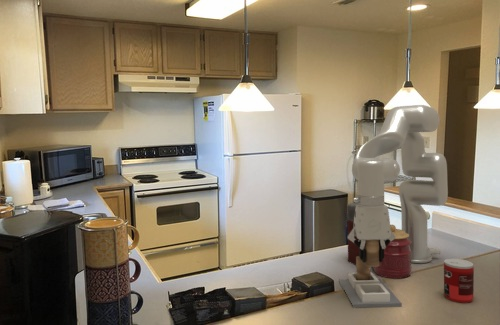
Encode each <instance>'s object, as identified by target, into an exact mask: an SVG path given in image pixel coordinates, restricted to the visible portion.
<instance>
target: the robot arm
mask: <svg viewBox="0 0 500 325" xmlns="http://www.w3.org/2000/svg"><path fill="white" fill-rule="evenodd" d="M440 121H441V120H440V114H439V112H438V110H436V109H435V108H434V107H431V106H429V105H424V104H417V105H403V106H395V107H392V108H391V109H389V111H388V112H387V114H386V116H385V118H384V120H383V124H382V126H381V129H380V131H379V134H377V135H374V137H372V138H370V139H369V140H367V141H366V142H365V143H363V144H362V145H361V146H360V147H359V148H358V150H357V152H356V155H355V157H354V159H353V163H352V165H351V172H352V176H353V178H354V179H355V180H357V196H356V197H353V198H352V199H353V203H358V205H356V209H355V215H354V228H353V230H352V231H351V232H350V234H349V235H348V234H347V240H348V239H349V240H350V241H352V242H353V243H355V244H356V245H357V246H358V247H359V258H360V259H361V260H362V261H363V263H365V262H366V250H365V247H364V246H365V241H366V240H379V261H380V262H383V258H384V249H385V248H386V246H387V245H388V244H389V243H390V242H391V241H392V240H394V239H395V238H396V236H395V235H394V234H393V232H392V231H391V229H390V225H391V221H390V220H391V219H390V212H389V207H388V205H386V204H385V183H391V182H392V183H393V182H394V181H396V180H397V179H398V177H399V175H400V174H401V169H402V173H403V174H404V176H406V177H410V178H427V179H428V178H431V179H432V180H425V179H424V180H422V179H407V180H403V181H402V182H400V184H399V187H398V195H399V196H398V197H399V202H400V209H401V212H400V213H401V214H400V215H401V230H403V231H405V232H406V233H407V234H409V237H408V239H409V240H411V242H412V243H411V244H410V249H411V251H412V252H411V264H412V263H413V264H425V263H429V262H432V260H433V257H432V255H441V250H440V249H439V248H438V249H435V248H432V247H431V248H430V247H428V214H427V212H426V210H425V209H424V207H423V205H424V206H439V207H440V206H444V205H445V204H446V203H447V201H448V196H449V195H448V194H449V190H448V163H447V159H446V156H444V154H442V153H439V152H426V150H425V138H424V137H423V135H422V134H421V133H432V132H435V131H437V130H438V128H439V125H440ZM399 149H400V155H401V167H400V164H399V163H398V161H397V160H396V159H394V158H390V157H380V156H383V155H386V154H390V153H392V152H395V151H396V150H397V151H398V150H399ZM354 236H356V237H357V238H358V239H359V241H358V240H357V239H355V238H354Z"/></svg>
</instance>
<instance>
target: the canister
mask: <svg viewBox="0 0 500 325" xmlns="http://www.w3.org/2000/svg"><path fill="white" fill-rule="evenodd" d="M390 229H391V231H392V232H393V234H394V235H395V236H396V238H395V239H394V240H392V241H391V242H390V243H389V244H388V245H387V246H386V248H385V249H384V258H383V262H380V261H379V266H378V267H373V271H374V273H375V274H376V275H378V276H381V277H384V278H387V279H388V278H389V279H403V278H402V277H405V278H408V277H410V276H411V275H412V272H413V271H412V263H411V252H412V251H411V249H410V244H411V243H412V242H411V240H409V239H408V237H409V234H407V233H406V232H405V231H403V230H402V229H400V228H397V227H396V225H394V224H390ZM409 275H410V276H409ZM407 276H408V277H407Z"/></svg>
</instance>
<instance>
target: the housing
mask: <svg viewBox="0 0 500 325" xmlns="http://www.w3.org/2000/svg"><path fill="white" fill-rule="evenodd" d="M347 273H348V274H347V275H348V279H347V278H346V279H345V278H341V279H340V278H339V279H338V282H339V285H340V286H341V288H342V290H343V291H344V290H345V292H346V294H347V295H348V297H349V299H350V301H351V302H350V301H349V302H350V304H351V303H352V304H351V305H353V306H352V307H361V308H391V307H394V308H395V307H397V308H398V307H400V308H401V307H402V302H401V301H400V300H399V298H398V297H397V296H396V295H395V294H394V292H392V291H391V289H390V288H389V287H388V286H387V285H386V283H385V282H384V281H383V280H382V279H381V278H380V277H379V278H377V276H376V275H375V274H374V273H373V272H372V271H370V280H358V281H357V280H356V272H347ZM345 292H344V293H345ZM346 294H345V295H346ZM347 295H346V296H347ZM348 297H347V298H348ZM349 299H348V300H349Z"/></svg>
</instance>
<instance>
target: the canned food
mask: <svg viewBox="0 0 500 325" xmlns="http://www.w3.org/2000/svg"><path fill="white" fill-rule="evenodd" d="M474 268H475V267H474V263H473V262H471V261H469V260H466V259H463V258H461V259H460V258H446V259H444V261H443V295H444V297H445V298H446V299H447V300H449V301H452V302H455V303H460V304H461V303H462V304H467V303H471V302H472V301H473V300H474V293H475V292H474V288H475V287H474V285H475V284H474V282H475V279H474V274H475V273H474V270H475V269H474Z"/></svg>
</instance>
